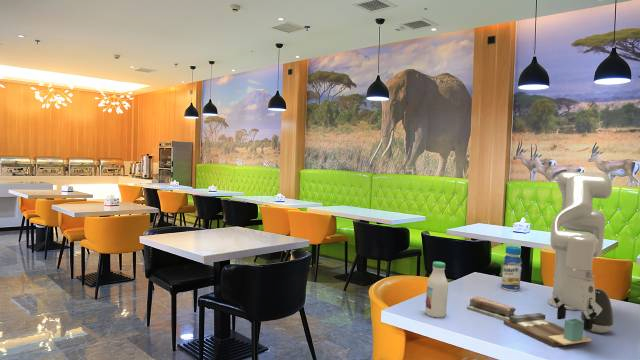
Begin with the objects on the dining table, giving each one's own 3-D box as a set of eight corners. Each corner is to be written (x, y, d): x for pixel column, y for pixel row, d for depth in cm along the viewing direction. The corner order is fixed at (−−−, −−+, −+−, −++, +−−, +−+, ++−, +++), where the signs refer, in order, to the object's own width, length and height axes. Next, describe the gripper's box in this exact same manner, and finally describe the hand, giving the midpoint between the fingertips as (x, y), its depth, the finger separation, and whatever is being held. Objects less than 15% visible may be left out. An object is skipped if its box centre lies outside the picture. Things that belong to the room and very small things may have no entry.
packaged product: (466, 297, 183) (479, 294, 189) (465, 309, 183) (479, 305, 190) (509, 310, 169) (522, 306, 176) (508, 323, 170) (521, 318, 176)
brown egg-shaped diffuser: (605, 327, 170) (609, 287, 170) (617, 337, 160) (621, 294, 159) (575, 323, 172) (579, 283, 172) (585, 333, 162) (588, 291, 162)
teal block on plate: (575, 334, 157) (577, 315, 156) (591, 340, 151) (593, 321, 151) (548, 337, 152) (549, 318, 151) (563, 345, 146) (565, 324, 146)
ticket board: (535, 320, 174) (536, 311, 173) (586, 341, 154) (587, 331, 154) (503, 324, 167) (504, 314, 167) (552, 347, 148) (553, 336, 148)
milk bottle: (447, 313, 176) (451, 262, 175) (444, 319, 169) (447, 266, 168) (427, 309, 179) (430, 259, 178) (423, 315, 172) (426, 262, 171)
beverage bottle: (522, 289, 218) (525, 247, 217) (516, 292, 211) (519, 249, 211) (504, 285, 223) (508, 244, 222) (497, 288, 217) (501, 246, 216)
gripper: (611, 279, 143) (606, 333, 144) (563, 265, 159) (559, 314, 160) (595, 281, 140) (590, 336, 141) (547, 267, 156) (543, 316, 157)
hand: (573, 324), depth 151 cm, fingers open, 9 cm apart
